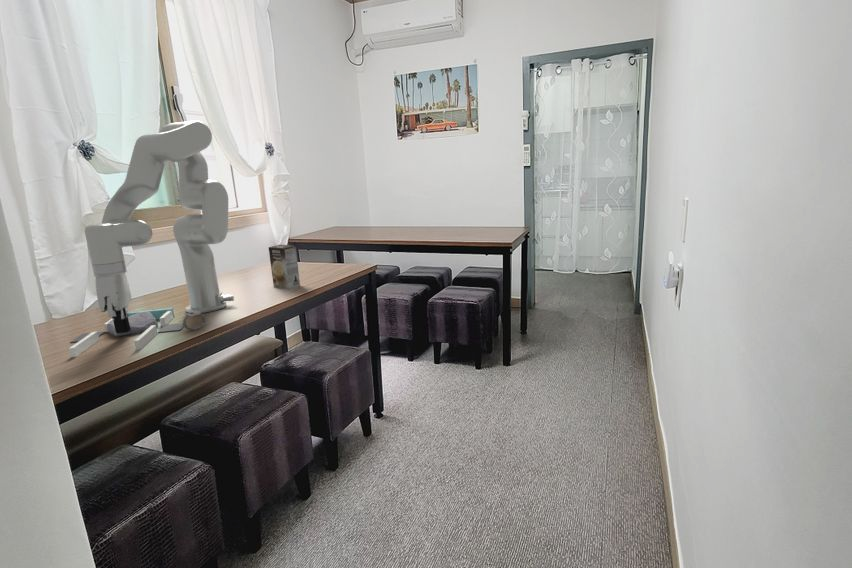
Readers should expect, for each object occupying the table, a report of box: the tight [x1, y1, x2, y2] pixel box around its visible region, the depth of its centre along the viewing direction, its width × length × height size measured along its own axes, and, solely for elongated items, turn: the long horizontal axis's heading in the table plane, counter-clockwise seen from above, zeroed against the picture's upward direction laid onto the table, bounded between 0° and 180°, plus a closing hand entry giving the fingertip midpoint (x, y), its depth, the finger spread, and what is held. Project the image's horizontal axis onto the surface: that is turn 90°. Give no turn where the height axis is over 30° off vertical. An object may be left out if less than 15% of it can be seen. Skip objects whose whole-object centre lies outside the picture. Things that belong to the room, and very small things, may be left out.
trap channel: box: [68, 307, 188, 358], centre depth 135 cm, size 29×29×3 cm
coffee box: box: [268, 244, 301, 290], centre depth 182 cm, size 9×6×16 cm
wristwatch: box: [182, 311, 206, 331], centre depth 137 cm, size 6×3×5 cm, turn 147°
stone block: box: [107, 312, 159, 337], centre depth 139 cm, size 12×5×10 cm
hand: (123, 331), depth 132 cm, fingers closed
